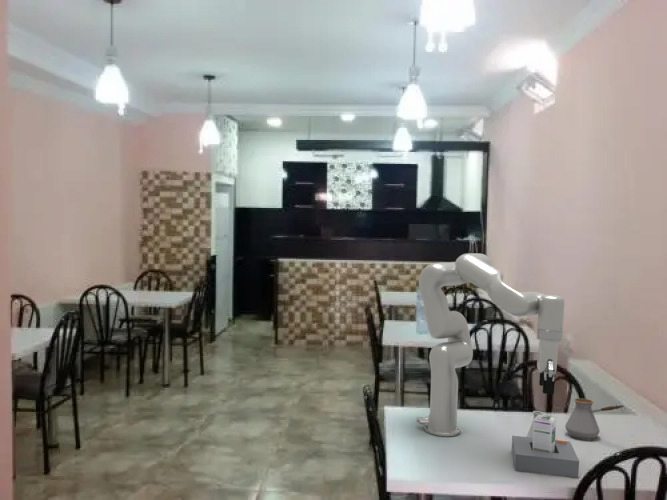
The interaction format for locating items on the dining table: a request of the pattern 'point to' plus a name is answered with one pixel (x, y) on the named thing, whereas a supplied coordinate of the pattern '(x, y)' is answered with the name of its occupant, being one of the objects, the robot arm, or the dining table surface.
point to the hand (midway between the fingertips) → (546, 389)
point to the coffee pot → (585, 419)
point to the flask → (530, 433)
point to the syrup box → (544, 433)
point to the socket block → (545, 458)
